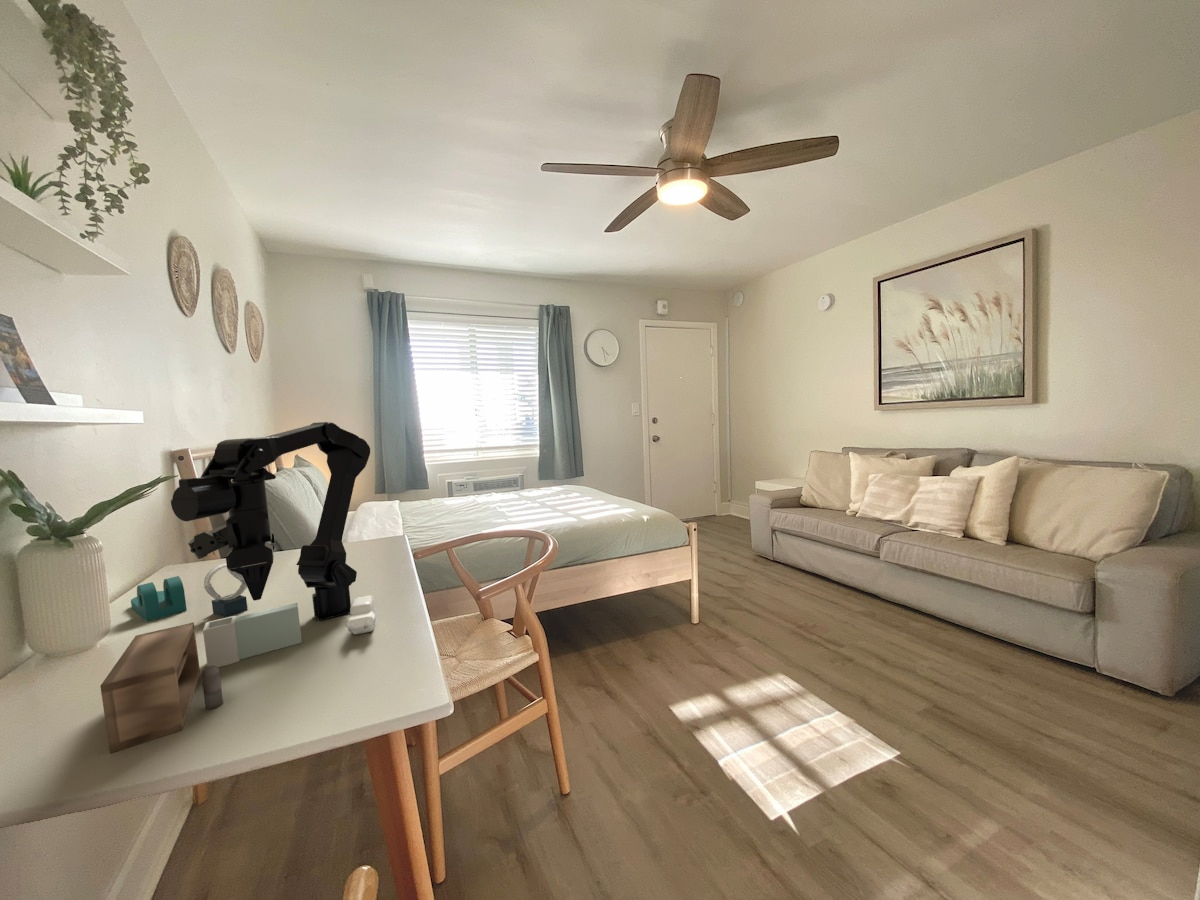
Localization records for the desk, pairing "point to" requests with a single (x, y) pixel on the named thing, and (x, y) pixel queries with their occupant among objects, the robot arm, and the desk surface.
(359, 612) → the power adapter
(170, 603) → the bracket
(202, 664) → the desk surface
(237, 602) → the watch
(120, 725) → the cabinet
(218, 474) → the robot arm
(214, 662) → the grey block with opening
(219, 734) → the desk surface
